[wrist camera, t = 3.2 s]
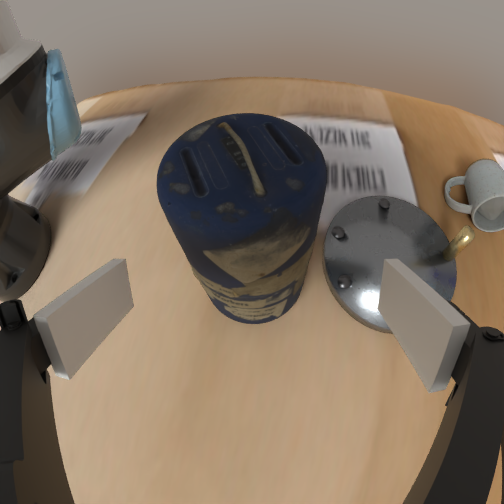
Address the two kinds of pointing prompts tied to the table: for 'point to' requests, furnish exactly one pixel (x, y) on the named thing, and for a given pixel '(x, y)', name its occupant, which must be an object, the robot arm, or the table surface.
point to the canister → (245, 210)
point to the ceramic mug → (481, 194)
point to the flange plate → (386, 253)
